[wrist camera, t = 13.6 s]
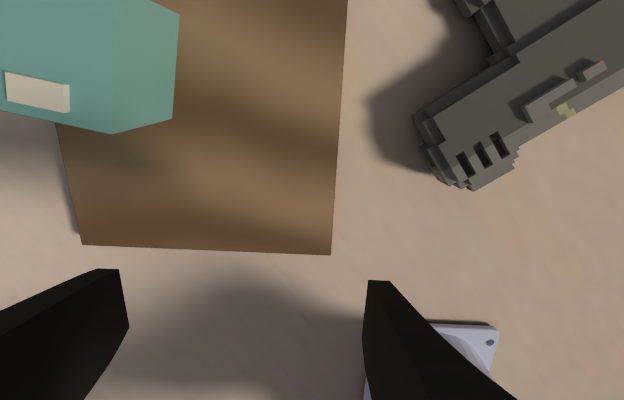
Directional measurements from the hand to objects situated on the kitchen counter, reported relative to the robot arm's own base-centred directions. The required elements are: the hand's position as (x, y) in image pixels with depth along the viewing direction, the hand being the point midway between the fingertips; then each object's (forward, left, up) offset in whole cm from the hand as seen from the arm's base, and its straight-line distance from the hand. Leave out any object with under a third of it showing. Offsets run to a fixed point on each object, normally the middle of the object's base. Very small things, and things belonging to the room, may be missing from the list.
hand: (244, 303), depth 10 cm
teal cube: (+7, +7, -8) cm, 13 cm away
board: (+4, +4, -9) cm, 11 cm away
